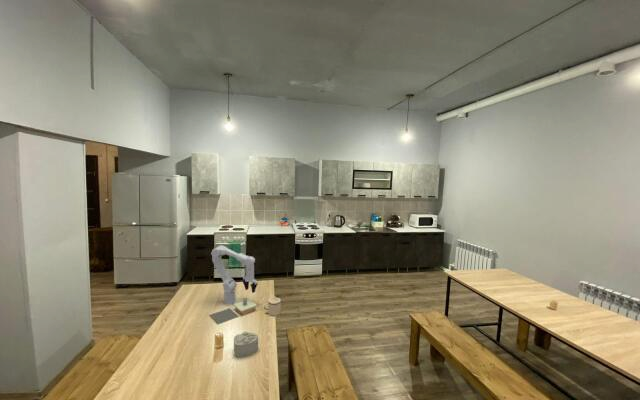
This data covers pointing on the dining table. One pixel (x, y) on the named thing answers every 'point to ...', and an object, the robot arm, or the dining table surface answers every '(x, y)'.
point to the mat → (223, 316)
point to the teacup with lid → (273, 306)
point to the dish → (246, 311)
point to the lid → (244, 305)
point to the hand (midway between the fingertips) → (250, 290)
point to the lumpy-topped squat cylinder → (245, 344)
